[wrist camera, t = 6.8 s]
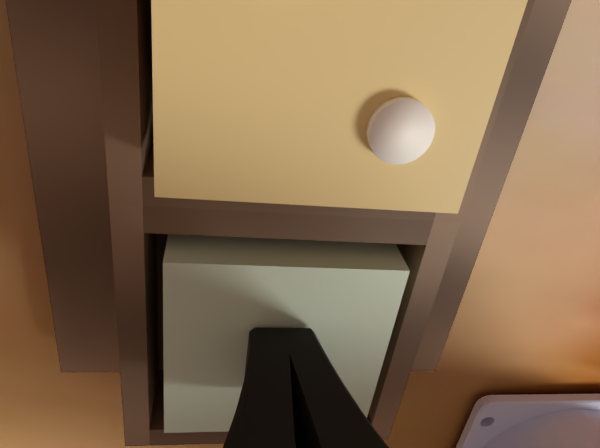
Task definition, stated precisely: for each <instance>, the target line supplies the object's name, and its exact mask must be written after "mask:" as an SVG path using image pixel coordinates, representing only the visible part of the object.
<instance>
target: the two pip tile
mask: <svg viewBox="0 0 600 448" xmlns="http://www.w3.org/2000/svg"><path fill="white" fill-rule="evenodd" d="M527 2H528V0H151V16H152V78H153V140H154V197H164V198H182V199H200V200H218V201H236V202H254V203H272V204H291V205H309V206H327V207H345V208H363V209H381V210H399V211H417V212H435V213H454V214H458V212H459V209H460V206H461V203H462V200H463V197H464V194H465V191H466V188H467V185H468V182H469V178H470V175H471V172H472V169H473V166H474V163H475V160H476V157H477V154H478V151H479V148H480V145H481V142H482V139H483V136H484V133H485V130H486V127H487V124H488V121H489V118H490V114H491V111H492V108H493V105H494V102H495V99H496V96H497V93H498V90H499V87H500V84H501V81H502V78H503V75H504V72H505V69H506V66H507V63H508V60H509V57H510V54H511V51H512V47H513V44H514V41H515V38H516V35H517V32H518V29H519V26H520V23H521V20H522V17H523V14H524V11H525V8H526V5H527Z"/></svg>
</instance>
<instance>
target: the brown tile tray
mask: <svg viewBox="0 0 600 448" xmlns="http://www.w3.org/2000/svg"><path fill="white" fill-rule="evenodd" d="M570 3H571V0H528V2H527V5H526V8H525V11H524V14H523V17H522V20H521V23H520V26H519V29H518V32H517V35H516V38H515V41H514V44H513V47H512V51H511V54H510V57H509V60H508V63H507V66H506V69H505V72H504V75H503V78H502V81H501V84H500V87H499V90H498V93H497V96H496V99H495V102H494V105H493V108H492V111H491V114H490V118H489V121H488V124H487V127H486V130H485V133H484V136H483V139H482V142H481V145H480V148H479V151H478V154H477V157H476V160H475V163H474V166H473V169H472V172H471V175H470V178H469V182H468V185H467V188H466V191H465V194H464V197H463V200H462V203H461V206H460V209H459V212H458V214H454V213H435V212H417V211H399V210H381V209H363V208H345V207H327V206H309V205H291V204H272V203H254V202H236V201H218V200H200V199H182V198H164V197H154V140H153V78H152V16H151V0H6V6H7V13H8V20H9V27H10V33H11V40H12V47H13V53H14V60H15V67H16V73H17V80H18V87H19V94H20V100H21V107H22V114H23V120H24V127H25V134H26V141H27V147H28V154H29V161H30V167H31V174H32V181H33V187H34V194H35V201H36V208H37V214H38V221H39V228H40V234H41V241H42V248H43V255H44V261H45V268H46V275H47V281H48V288H49V295H50V302H51V308H52V315H53V322H54V328H55V335H56V342H57V348H58V355H59V362H60V369H61V372H120V375H121V390H122V405H123V420H124V435H125V446H146V445H183V444H220V443H225V441H226V438H227V435H228V432H229V431H227V432H184V433H164V358H163V259H164V253H165V248H166V243H167V237H168V234H179V235H202V236H225V237H249V238H272V239H295V240H318V241H341V242H365V243H388V244H396V245H397V247H398V249H399V251H400V253H401V255H402V257H403V259H404V261H405V262H406V264H407V266H408V268H409V270H410V272H409V276H408V279H407V283H406V286H405V289H404V293H403V296H402V300H401V303H400V307H399V310H398V313H397V317H396V320H395V324H394V327H393V330H392V334H391V337H390V341H389V344H388V348H387V351H386V354H385V358H384V361H383V365H382V368H381V371H380V375H379V378H378V382H377V385H376V389H375V392H374V395H373V399H372V402H371V406H370V409H369V412H368V416H367V419H368V420H369V422H370V423H371V425H372V426H373V427H374V429H375V430H376V431H377V433H378V434H379V435H380V437H381V438H382V439H388V438H389V435H390V432H391V429H392V426H393V423H394V420H395V417H396V414H397V411H398V408H399V405H400V402H401V399H402V396H403V393H404V390H405V387H406V384H407V381H408V378H409V375H410V372H411V371H435V370H436V367H437V365H438V362H439V359H440V356H441V354H442V351H443V348H444V346H445V343H446V340H447V337H448V335H449V332H450V329H451V327H452V324H453V321H454V318H455V316H456V313H457V310H458V307H459V305H460V302H461V299H462V297H463V294H464V291H465V288H466V286H467V283H468V280H469V278H470V275H471V272H472V269H473V267H474V264H475V261H476V259H477V256H478V253H479V250H480V248H481V245H482V242H483V240H484V237H485V234H486V231H487V229H488V226H489V223H490V221H491V218H492V215H493V212H494V210H495V207H496V204H497V202H498V199H499V196H500V193H501V191H502V188H503V185H504V182H505V180H506V177H507V174H508V172H509V169H510V166H511V163H512V161H513V158H514V155H515V153H516V150H517V147H518V144H519V142H520V139H521V136H522V134H523V131H524V128H525V125H526V123H527V120H528V117H529V115H530V112H531V109H532V106H533V104H534V101H535V98H536V96H537V93H538V90H539V87H540V85H541V82H542V79H543V76H544V74H545V71H546V68H547V66H548V63H549V60H550V57H551V55H552V52H553V49H554V47H555V44H556V41H557V38H558V36H559V33H560V30H561V28H562V25H563V22H564V19H565V17H566V14H567V11H568V9H569V6H570Z"/></svg>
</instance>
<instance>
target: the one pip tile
mask: <svg viewBox="0 0 600 448" xmlns="http://www.w3.org/2000/svg"><path fill="white" fill-rule="evenodd" d="M409 272H410V270H409V268H408V266H407V264H406V262H405V261H404V259H403V257H402V255H401V253H400V251H399V249H398V247H397V245H396V244H388V243H365V242H341V241H318V240H295V239H272V238H249V237H225V236H202V235H179V234H168V237H167V243H166V248H165V253H164V259H163V358H164V433H184V432H227V431H229V429H230V426H231V423H232V420H233V417H234V415H235V411H236V408H237V405H238V401H239V397H240V394H241V390H242V386H243V382H244V376H245V367H246V357H247V348H248V338H249V331H251V330H252V329H253V328H255V327H260V328H311V329H312V330H313V331H314V333H315V335H316V337H317V339H318V340H319V342H320V344H321V346H322V348H323V350H324V352H325V353H326V355H327V357H328V359H329V360H330V362H331V364H332V365H333V367H334V369H335V370H336V372H337V374H338V375H339V377H340V379H341V380H342V382H343V383H344V385H345V387H346V388H347V390H348V391H349V393H350V394H351V396H352V397H353V399H354V400H355V402H356V403H357V405H358V406H359V408H360V409H361V411H362V412H363V413H364V415H365V416H366V418H367V416H368V412H369V409H370V406H371V402H372V399H373V395H374V392H375V389H376V385H377V382H378V378H379V375H380V371H381V368H382V365H383V361H384V358H385V354H386V351H387V348H388V344H389V341H390V337H391V334H392V330H393V327H394V324H395V320H396V317H397V313H398V310H399V307H400V303H401V300H402V296H403V293H404V289H405V286H406V283H407V279H408V276H409Z"/></svg>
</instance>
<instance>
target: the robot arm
mask: <svg viewBox="0 0 600 448" xmlns="http://www.w3.org/2000/svg"><path fill="white" fill-rule="evenodd" d="M223 448H389V447H388V446H387V445H386V443H385V442H384V441H383V439H382V438H381V437H380V435H379V434H378V433H377V431H376V430H375V429H374V427H373V426H372V425H371V423H370V422H369V420H368V419H367V418H366V416H365V415H364V413H363V412H362V411H361V409H360V408H359V406H358V405H357V403H356V402H355V400H354V399H353V397H352V396H351V394H350V393H349V391H348V390H347V388H346V387H345V385H344V383H343V382H342V380H341V379H340V377H339V375H338V374H337V372H336V370H335V369H334V367H333V365H332V364H331V362H330V360H329V359H328V357H327V355H326V353H325V352H324V350H323V348H322V346H321V344H320V342H319V340H318V339H317V337H316V335H315V333H314V331H313V330H312V329H311V328H260V327H255V328H253V329H252V330H251V331H249V338H248V348H247V357H246V367H245V376H244V382H243V386H242V390H241V394H240V397H239V401H238V405H237V408H236V411H235V415H234V417H233V420H232V423H231V426H230V429H229V432H228V435H227V438H226V441H225V443H224V446H223ZM456 448H600V394H521V395H487V396H484V397H481V398H480V399H479V400H478V401H477V402H476V403H475V405H474V407H473V410H472V412H471V414H470V416H469V419H468V421H467V423H466V425H465V428H464V430H463V432H462V434H461V437H460V439H459V441H458V443H457V446H456Z"/></svg>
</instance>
